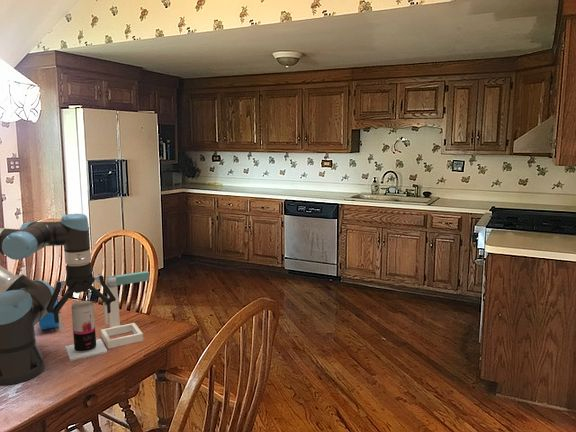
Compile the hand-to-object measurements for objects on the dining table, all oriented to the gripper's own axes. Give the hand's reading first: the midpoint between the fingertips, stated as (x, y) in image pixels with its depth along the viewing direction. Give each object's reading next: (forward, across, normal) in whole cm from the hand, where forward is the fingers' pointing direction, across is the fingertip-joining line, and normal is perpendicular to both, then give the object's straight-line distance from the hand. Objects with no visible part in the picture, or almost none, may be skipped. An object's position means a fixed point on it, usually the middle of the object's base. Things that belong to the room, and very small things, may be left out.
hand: (84, 327), depth 156 cm
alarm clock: (+8, -8, +27) cm, 29 cm away
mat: (+8, 0, 0) cm, 8 cm away
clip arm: (-8, +18, +14) cm, 24 cm away
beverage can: (+7, 0, 0) cm, 7 cm away
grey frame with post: (+8, +12, +6) cm, 16 cm away
